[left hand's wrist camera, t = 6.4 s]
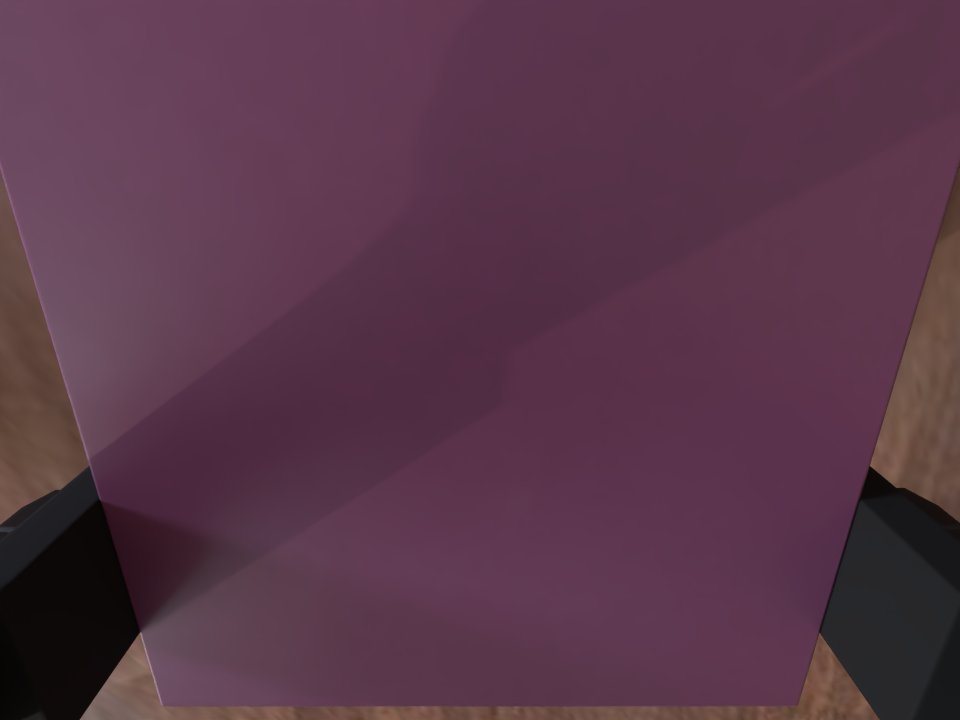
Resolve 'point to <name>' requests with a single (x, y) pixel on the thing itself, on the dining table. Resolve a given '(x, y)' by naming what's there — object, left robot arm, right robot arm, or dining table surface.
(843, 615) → the left robot arm
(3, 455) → the dining table surface
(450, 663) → the cabinet
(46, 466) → the dining table surface
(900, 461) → the dining table surface
